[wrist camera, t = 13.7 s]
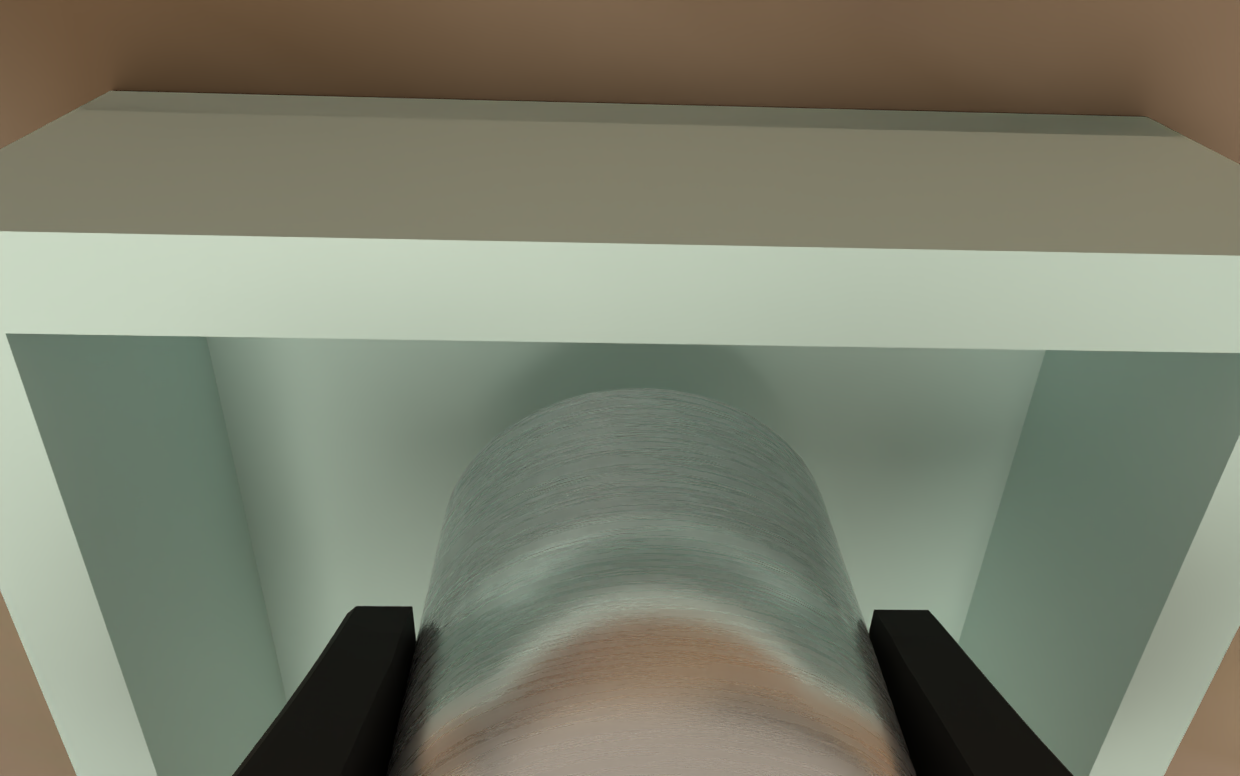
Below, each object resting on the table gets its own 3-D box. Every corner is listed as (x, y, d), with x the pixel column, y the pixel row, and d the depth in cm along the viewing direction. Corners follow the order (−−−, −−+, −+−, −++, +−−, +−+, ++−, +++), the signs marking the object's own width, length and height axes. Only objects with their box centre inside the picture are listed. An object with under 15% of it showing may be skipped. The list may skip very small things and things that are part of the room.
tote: (904, 885, 22) (978, 1141, 18) (304, 887, 22) (231, 1151, 17) (1147, 116, 13) (1425, 260, 9) (110, 91, 12) (-150, 227, 8)
